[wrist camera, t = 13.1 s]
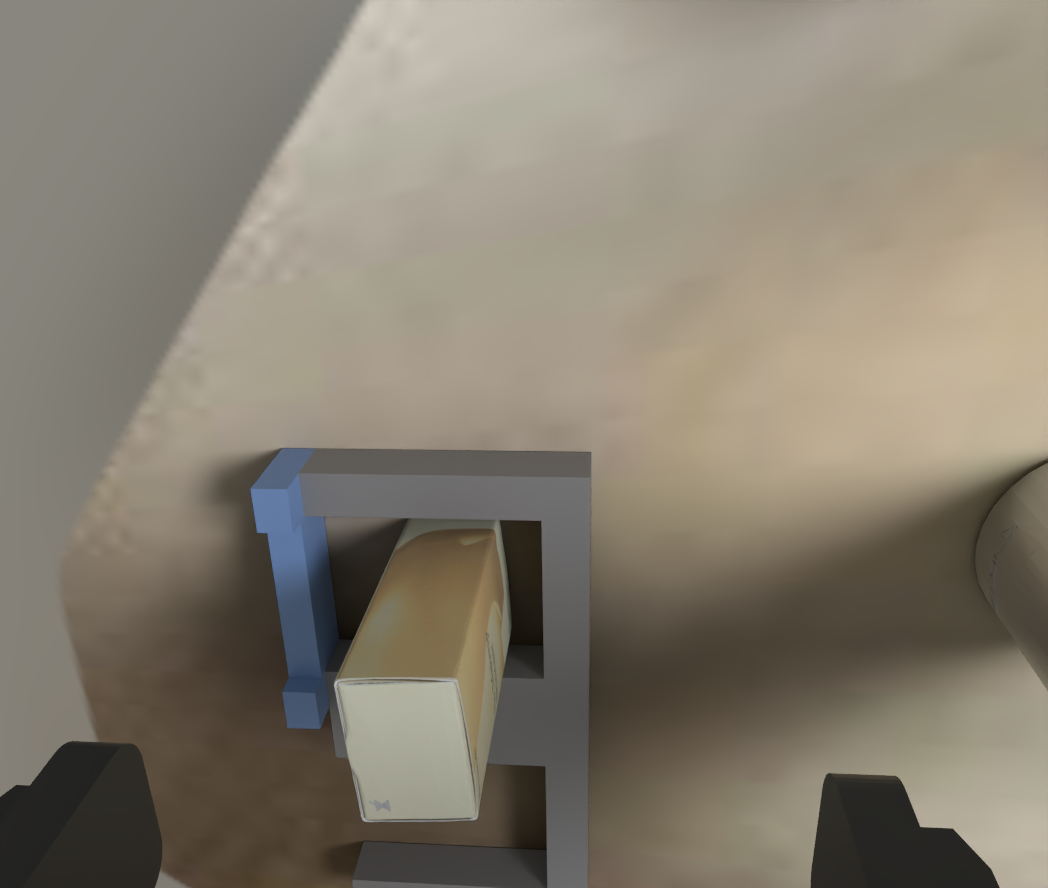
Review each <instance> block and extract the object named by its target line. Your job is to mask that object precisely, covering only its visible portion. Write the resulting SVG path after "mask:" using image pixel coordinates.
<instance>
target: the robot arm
mask: <svg viewBox="0 0 1048 888" xmlns="http://www.w3.org/2000/svg"><path fill="white" fill-rule="evenodd" d="M975 568H976V573H977V578H978V583H979V585H980V587H981V589H982V591H983V593H984V595H985V597H986V599H987V601H988V602H989V604H990V605H991V607H992V608H993V610H994V611H995V613H996V614H997V616H998V617H999V619H1000V620H1001V622H1002V623H1003V625H1004V626H1005V628H1006V629H1007V630H1008V632H1009V633H1010V635H1011V636H1012V638H1013V639H1014V641H1015V642H1016V644H1017V645H1018V647H1019V648H1020V650H1021V652H1022V653H1023V655H1024V656H1025V658H1026V659H1027V661H1028V662H1029V664H1030V665H1031V667H1032V668H1033V670H1034V671H1035V673H1036V674H1037V676H1038V677H1039V679H1040V680H1041V681H1042V683H1043V684H1044V686H1045V687H1046V689H1047V690H1048V463H1046V464H1045V465H1043V466H1041V467H1039V468H1037V469H1035V470H1033V471H1031V472H1030V473H1028V474H1027V475H1026V476H1024V477H1023V478H1022V479H1021V480H1019V481H1018V482H1017V483H1016V484H1014V485H1013V486H1012V487H1010V488H1009V489H1008V491H1007V492H1006V493H1005V494H1004V495H1003V496H1002V497H1001V498H1000V500H999V501H998V502H997V503H996V504H995V505H994V507H993V508H992V510H991V512H990V513H989V515H988V517H987V518H986V520H985V522H984V524H983V525H982V529H981V532H980V535H979V538H978V541H977V544H976V555H975ZM161 860H162V838H161V833H160V829H159V825H158V821H157V817H156V813H155V808H154V804H153V800H152V796H151V792H150V788H149V784H148V779H147V775H146V771H145V767H144V763H143V759H142V756H141V753H140V751H139V749H138V748H137V747H136V746H135V745H134V744H129V743H104V742H79V741H72V742H68V743H66V744H64V745H63V746H61V747H60V748H59V749H58V750H57V751H56V753H55V754H54V755H53V756H52V758H51V759H50V760H49V761H48V763H47V764H46V765H45V767H44V768H43V769H42V771H41V772H40V773H39V775H38V776H37V777H36V779H35V780H34V781H33V782H32V784H31V785H30V786H24V785H23V786H22V785H16V786H14V787H13V788H12V789H10V790H9V791H8V792H6V793H5V794H4V795H2V796H1V797H0V888H155V885H156V882H157V879H158V876H159V871H160V866H161ZM811 888H999V885H998V883H997V881H996V879H995V877H994V875H993V872H992V870H991V869H990V868H989V867H988V865H987V864H986V863H985V862H984V861H983V860H982V859H981V858H980V857H979V856H978V855H977V854H976V853H975V852H974V851H973V850H972V849H971V847H970V846H969V845H968V844H967V843H966V842H965V841H964V840H963V839H962V838H961V837H960V836H959V835H958V834H957V833H956V832H955V831H954V829H948V828H925V827H920V825H919V823H918V820H917V818H916V815H915V813H914V810H913V808H912V805H911V803H910V800H909V798H908V795H907V793H906V790H905V788H904V786H903V784H902V782H901V780H900V779H899V778H898V777H896V776H884V775H859V774H834V773H829V774H827V775H826V777H825V780H824V783H823V789H822V797H821V804H820V811H819V819H818V826H817V834H816V841H815V848H814V856H813V863H812V871H811Z"/></svg>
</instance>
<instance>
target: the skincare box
mask: <svg viewBox="0 0 1048 888" xmlns="http://www.w3.org/2000/svg"><path fill="white" fill-rule="evenodd" d="M511 629H512V619H511V604H510V592H509V582H508V573H507V565H506V558H505V552H504V545H503V538H502V532H501V525H500V520H475V519H423V518H408V520H407V522H406V524H405V526H404V528H403V531H402V533H401V535H400V537H399V540H398V542H397V544H396V546H395V548H394V551H393V553H392V555H391V558H390V560H389V562H388V564H387V566H386V568H385V571H384V573H383V575H382V577H381V580H380V582H379V584H378V586H377V588H376V591H375V593H374V595H373V597H372V599H371V602H370V604H369V606H368V608H367V610H366V613H365V615H364V617H363V619H362V622H361V624H360V626H359V628H358V631H357V633H356V635H355V637H354V639H353V642H352V644H351V646H350V648H349V650H348V653H347V655H346V657H345V659H344V661H343V664H342V666H341V668H340V670H339V672H338V674H337V677H336V679H335V681H334V688H335V693H336V698H337V703H338V708H339V713H340V718H341V723H342V728H343V732H344V738H345V744H346V749H347V754H348V759H349V762H350V766H351V770H352V774H353V779H354V784H355V789H356V793H357V798H358V803H359V807H360V811H361V817H362V820H363V821H365V822H383V821H384V822H441V821H463V820H476V819H477V818H478V813H479V806H480V800H481V794H482V788H483V783H484V777H485V771H486V765H487V760H488V755H489V749H490V744H491V738H492V732H493V727H494V721H495V716H496V711H497V705H498V700H499V694H500V688H501V682H502V677H503V672H504V666H505V661H506V655H507V650H508V645H509V640H510V634H511Z"/></svg>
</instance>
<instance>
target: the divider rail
mask: <svg viewBox="0 0 1048 888" xmlns="http://www.w3.org/2000/svg"><path fill="white" fill-rule="evenodd" d="M250 490H251V496H252V503H253V509H254V516H255V522H256V528H257V533H267V535H268V542H269V548H270V555H271V561H272V568H273V575H274V581H275V588H276V595H277V601H278V608H279V614H280V621H281V628H282V634H283V641H284V647H285V654H286V661H287V667H288V674H289V679H288V681H287V683H286V685H285V687H284V689H283V691H282V695H283V701H284V708H285V714H286V721H287V727H288V728H305V729H320V728H321V726H322V724H323V721H324V719H325V716H326V714H327V711H328V709H330V716H331V724H332V731H333V739H334V747H335V754H336V758H348V754H347V749H346V744H345V738H344V732H343V728H342V723H341V718H340V713H339V708H338V703H337V698H336V693H335V688H334V681H335V679H336V677H337V674H338V672H339V670H340V668H341V666H342V664H343V661H344V659H345V657H346V655H347V653H348V650H349V648H350V646H351V644H352V642H353V640H347V639H339V635H338V626H337V618H336V610H335V602H334V594H333V586H332V577H331V569H330V561H329V553H328V545H327V537H326V528H325V520H324V517H371V518H423V519H475V520H528V521H541V527H542V587H543V645H512V644H509V645H508V650H507V655H506V661H505V666H504V672H503V677H502V682H501V688H500V694H499V700H498V705H497V711H496V716H495V721H494V727H493V732H492V738H491V744H490V749H489V755H488V760H487V764H503V765H527V766H545V768H546V828H547V850H534V849H513V848H493V847H472V846H452V845H431V844H411V843H390V842H369V841H364V842H363V845H362V849H361V852H360V855H359V859H358V862H357V865H356V869H355V872H354V875H353V879H352V883H353V888H588V832H589V699H590V566H591V452H536V451H459V450H382V449H305V448H282V449H281V450H280V452H279V453H278V454H277V456H276V457H275V458H274V459H273V461H272V462H271V463H270V464H269V466H268V467H267V468H266V470H265V471H264V472H263V473H262V475H261V476H260V477H259V478H258V480H257V481H256V482H255V484H254V485H253V486H252V487H251V489H250Z"/></svg>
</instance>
